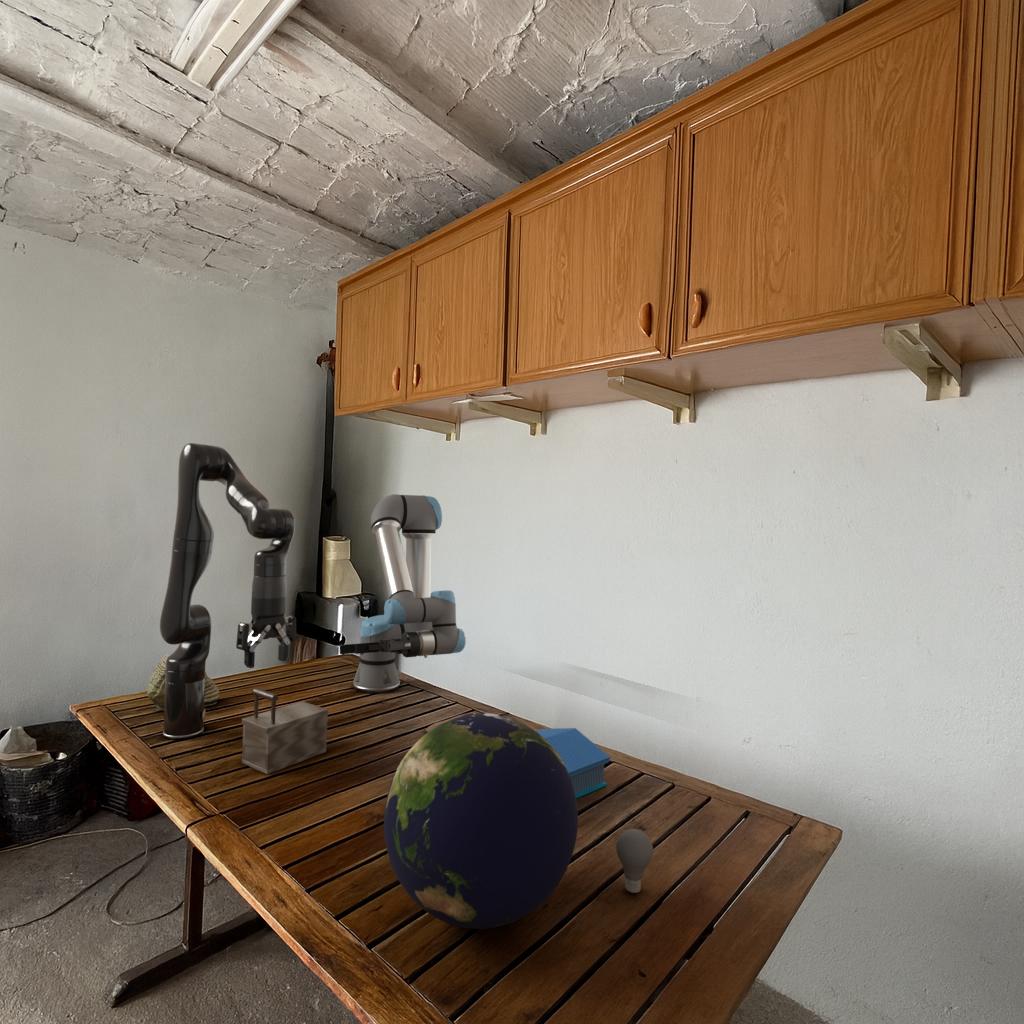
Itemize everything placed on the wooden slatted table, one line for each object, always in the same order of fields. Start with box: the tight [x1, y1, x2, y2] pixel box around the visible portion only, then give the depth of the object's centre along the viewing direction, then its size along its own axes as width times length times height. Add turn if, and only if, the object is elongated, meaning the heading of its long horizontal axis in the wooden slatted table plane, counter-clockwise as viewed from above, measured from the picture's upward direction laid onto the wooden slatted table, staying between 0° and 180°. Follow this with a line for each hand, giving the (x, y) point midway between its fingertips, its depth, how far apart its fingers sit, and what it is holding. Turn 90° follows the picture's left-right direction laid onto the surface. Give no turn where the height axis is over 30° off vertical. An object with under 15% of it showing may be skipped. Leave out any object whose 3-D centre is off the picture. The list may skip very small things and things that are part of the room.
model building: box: [535, 727, 611, 799], centre depth 138 cm, size 39×24×10 cm, turn 132°
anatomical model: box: [425, 711, 477, 733], centre depth 175 cm, size 13×4×12 cm
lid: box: [241, 687, 329, 733], centre depth 152 cm, size 17×10×8 cm, turn 146°
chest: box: [241, 713, 329, 775], centre depth 153 cm, size 17×10×9 cm, turn 146°
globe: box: [383, 712, 579, 930], centre depth 99 cm, size 30×30×30 cm
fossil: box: [147, 654, 221, 712], centre depth 185 cm, size 9×18×15 cm, turn 132°
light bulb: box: [615, 828, 654, 894], centre depth 106 cm, size 6×6×10 cm
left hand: (266, 663), depth 147 cm, fingers open, 8 cm apart
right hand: (347, 649), depth 179 cm, fingers open, 13 cm apart
